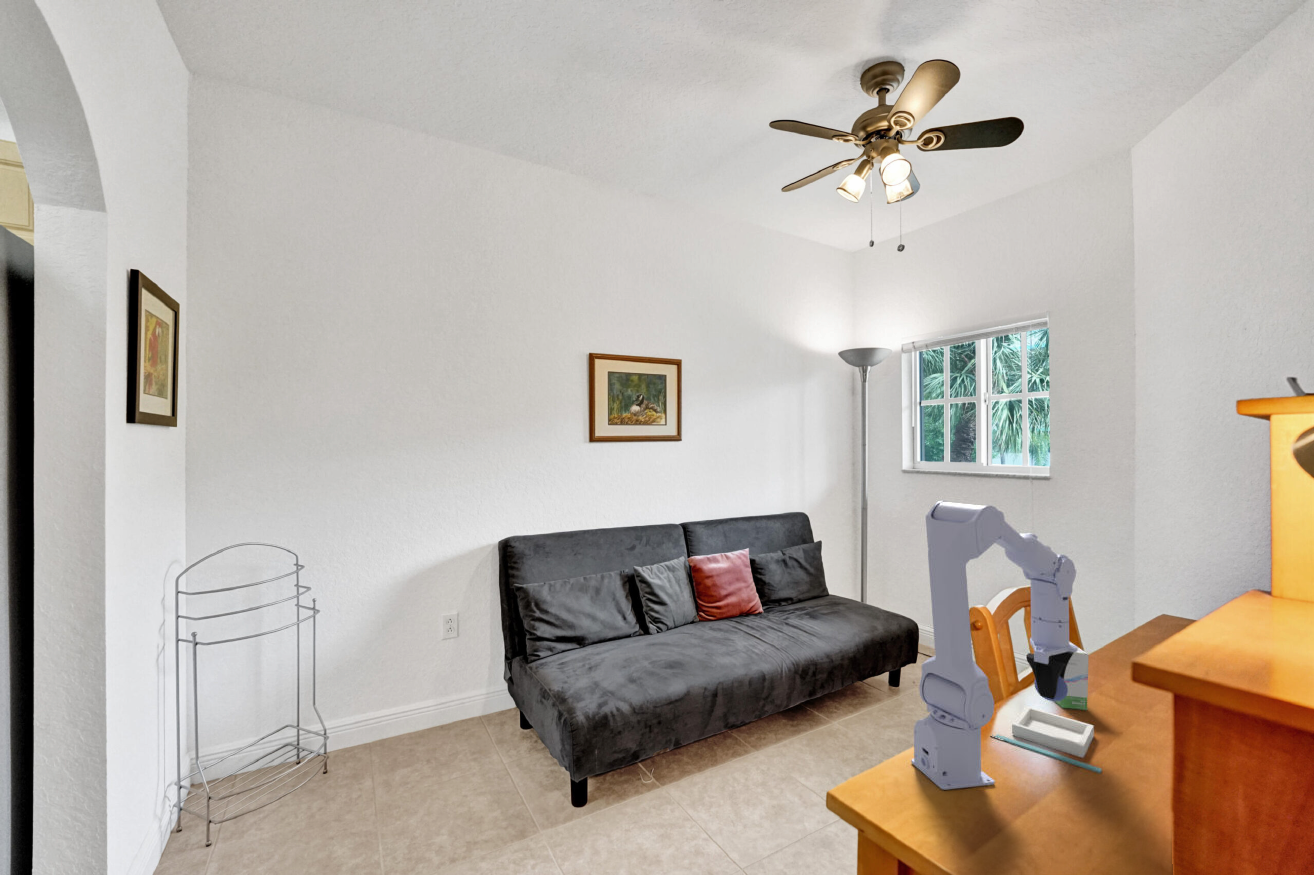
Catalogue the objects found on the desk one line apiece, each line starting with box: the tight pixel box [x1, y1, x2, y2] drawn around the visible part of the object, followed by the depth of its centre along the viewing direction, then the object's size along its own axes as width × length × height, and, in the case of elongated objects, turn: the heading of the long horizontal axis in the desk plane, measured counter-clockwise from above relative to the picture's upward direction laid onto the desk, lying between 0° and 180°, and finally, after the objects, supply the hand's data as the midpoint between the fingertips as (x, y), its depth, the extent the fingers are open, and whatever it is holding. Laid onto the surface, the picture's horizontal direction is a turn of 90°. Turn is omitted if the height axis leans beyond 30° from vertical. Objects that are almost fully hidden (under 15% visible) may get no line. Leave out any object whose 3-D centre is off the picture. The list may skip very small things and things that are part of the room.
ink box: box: [1054, 641, 1089, 711], centre depth 117 cm, size 9×5×12 cm, turn 168°
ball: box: [1034, 676, 1068, 702], centre depth 101 cm, size 5×5×5 cm
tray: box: [1011, 705, 1095, 759], centre depth 102 cm, size 11×11×2 cm
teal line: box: [992, 734, 1102, 774], centre depth 96 cm, size 16×1×1 cm, turn 44°
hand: (1050, 692), depth 101 cm, fingers closed on ball, 5 cm apart
